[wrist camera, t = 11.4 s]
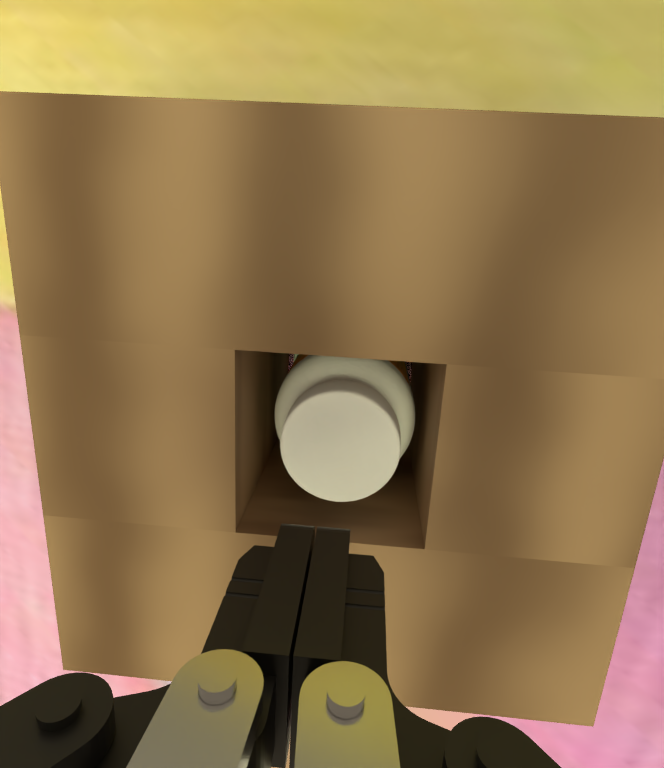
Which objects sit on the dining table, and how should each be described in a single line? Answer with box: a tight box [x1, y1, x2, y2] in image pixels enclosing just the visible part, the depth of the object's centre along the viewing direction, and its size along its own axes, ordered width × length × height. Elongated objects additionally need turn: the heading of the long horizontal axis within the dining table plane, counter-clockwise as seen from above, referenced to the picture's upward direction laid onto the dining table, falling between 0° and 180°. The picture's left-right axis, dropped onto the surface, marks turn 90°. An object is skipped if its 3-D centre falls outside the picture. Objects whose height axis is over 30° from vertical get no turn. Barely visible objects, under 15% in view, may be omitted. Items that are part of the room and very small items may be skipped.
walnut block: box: [0, 91, 664, 726], centre depth 22 cm, size 20×20×11 cm
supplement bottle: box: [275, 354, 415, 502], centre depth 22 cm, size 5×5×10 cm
